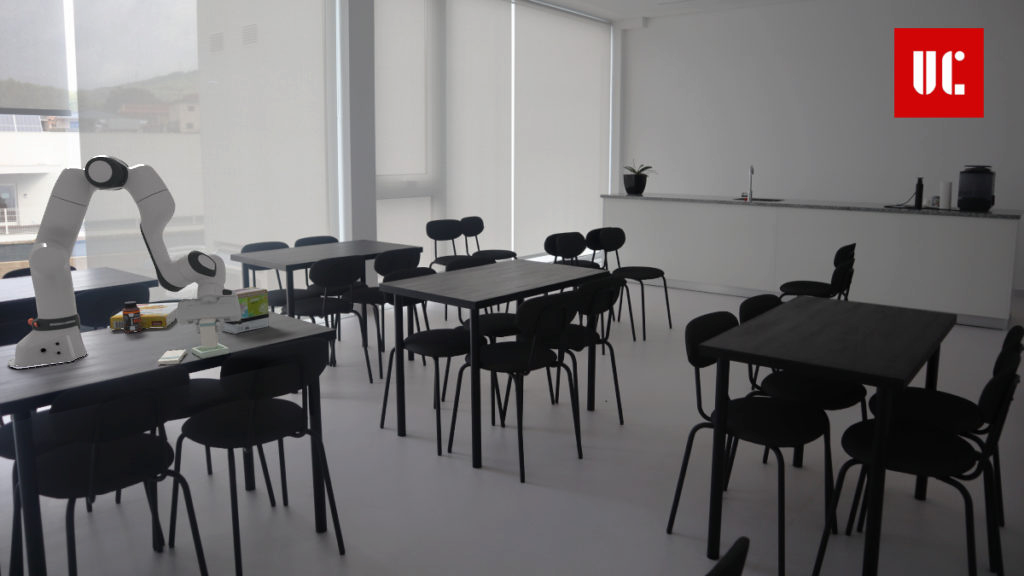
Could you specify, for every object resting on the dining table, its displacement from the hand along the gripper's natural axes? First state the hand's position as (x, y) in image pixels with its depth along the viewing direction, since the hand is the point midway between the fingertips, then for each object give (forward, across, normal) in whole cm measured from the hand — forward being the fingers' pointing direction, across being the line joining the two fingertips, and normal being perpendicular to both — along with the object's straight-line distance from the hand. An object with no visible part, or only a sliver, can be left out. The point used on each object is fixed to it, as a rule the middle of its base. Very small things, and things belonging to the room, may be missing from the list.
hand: (208, 332), depth 255 cm
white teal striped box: (+3, 0, +4) cm, 5 cm away
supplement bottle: (-24, -34, +35) cm, 55 cm away
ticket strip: (+7, -11, +3) cm, 14 cm away
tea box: (-19, +7, +30) cm, 36 cm away
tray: (+5, 0, +6) cm, 7 cm away
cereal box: (-36, -33, +47) cm, 68 cm away
